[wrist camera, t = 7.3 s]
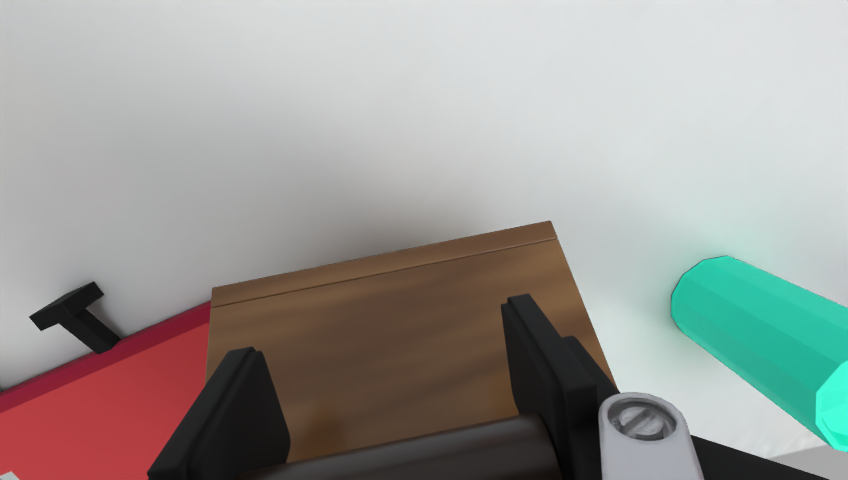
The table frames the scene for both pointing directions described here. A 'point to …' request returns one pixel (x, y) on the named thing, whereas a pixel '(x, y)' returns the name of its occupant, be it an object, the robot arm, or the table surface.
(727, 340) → the candle
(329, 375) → the wooden drawer
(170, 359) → the red board with handle
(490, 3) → the table surface
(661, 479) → the robot arm
